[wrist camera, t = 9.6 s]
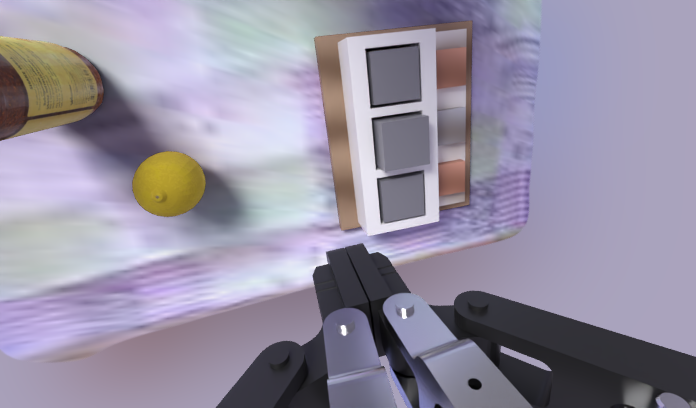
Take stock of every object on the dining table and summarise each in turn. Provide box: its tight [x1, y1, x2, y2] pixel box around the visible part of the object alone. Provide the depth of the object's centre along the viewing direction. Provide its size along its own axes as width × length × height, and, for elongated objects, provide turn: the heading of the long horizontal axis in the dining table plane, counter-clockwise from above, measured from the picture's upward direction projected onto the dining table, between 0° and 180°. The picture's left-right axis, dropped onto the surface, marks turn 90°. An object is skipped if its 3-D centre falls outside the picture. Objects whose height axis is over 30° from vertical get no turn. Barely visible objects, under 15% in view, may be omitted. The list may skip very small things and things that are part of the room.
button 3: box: [377, 171, 425, 223], centre depth 36 cm, size 4×4×4 cm
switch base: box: [314, 21, 472, 231], centre depth 36 cm, size 20×16×2 cm
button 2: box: [371, 112, 430, 172], centre depth 32 cm, size 4×4×4 cm
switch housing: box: [338, 28, 439, 236], centre depth 34 cm, size 19×8×4 cm, turn 7°
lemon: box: [132, 151, 206, 217], centre depth 30 cm, size 6×6×8 cm
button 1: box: [366, 46, 420, 105], centre depth 31 cm, size 4×4×4 cm
